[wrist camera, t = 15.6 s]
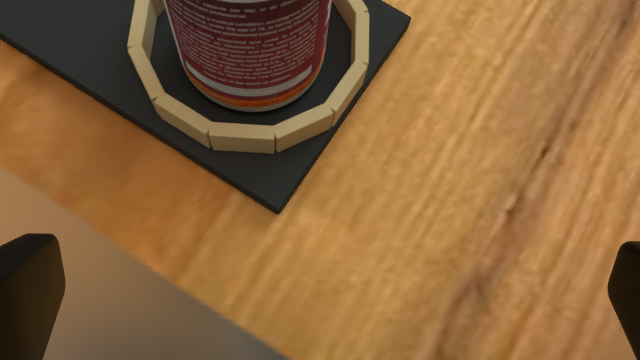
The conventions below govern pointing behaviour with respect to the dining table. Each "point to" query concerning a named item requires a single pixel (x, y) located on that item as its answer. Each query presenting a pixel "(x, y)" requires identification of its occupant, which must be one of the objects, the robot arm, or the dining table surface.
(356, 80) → the pad
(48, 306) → the robot arm
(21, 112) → the dining table surface
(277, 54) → the pill bottle
